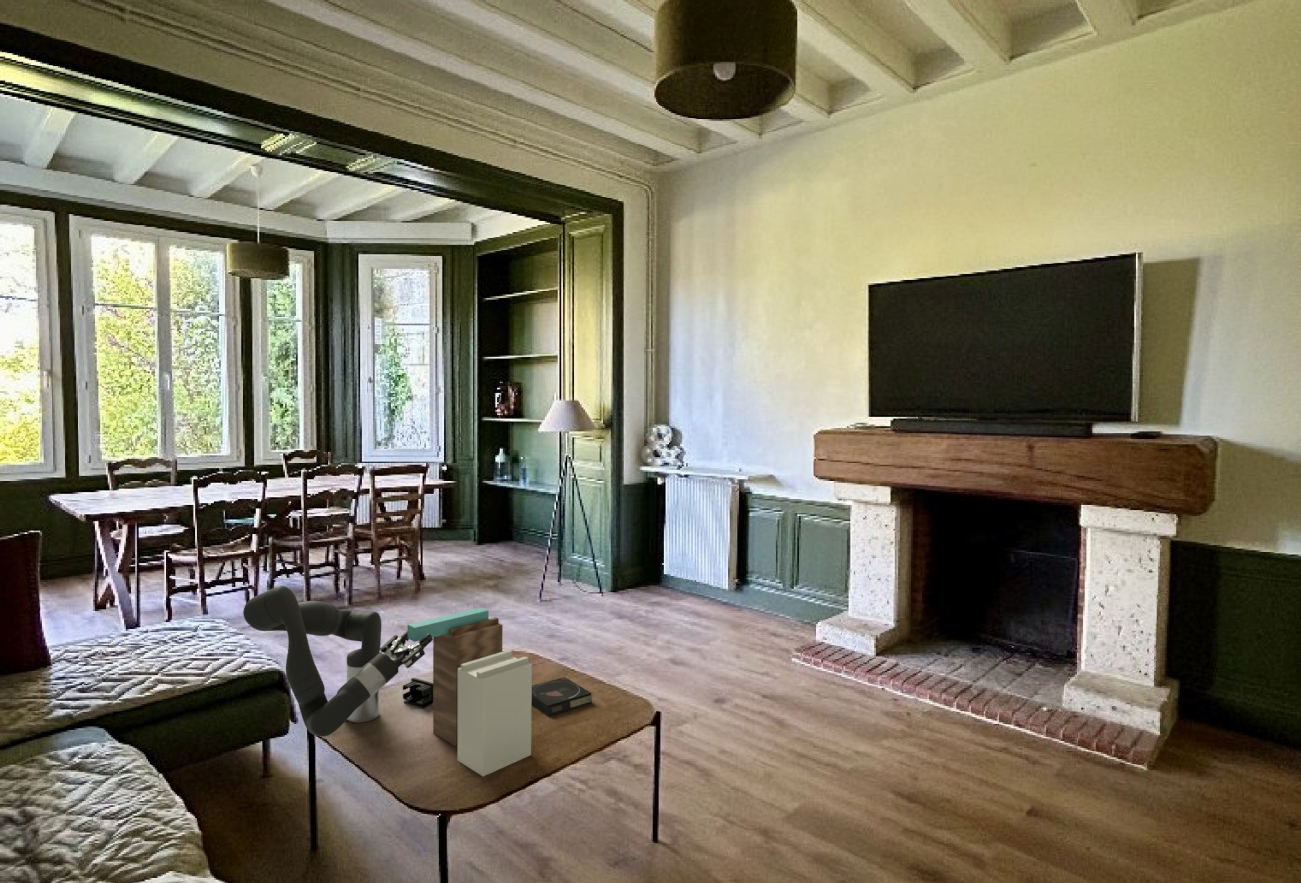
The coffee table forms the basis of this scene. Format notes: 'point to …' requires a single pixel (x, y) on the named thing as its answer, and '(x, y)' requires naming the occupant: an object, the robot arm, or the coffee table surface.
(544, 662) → the coffee table surface
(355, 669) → the robot arm
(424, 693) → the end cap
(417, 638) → the teal bar
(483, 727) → the grey plinth
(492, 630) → the walnut plinth
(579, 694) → the portable cd player
